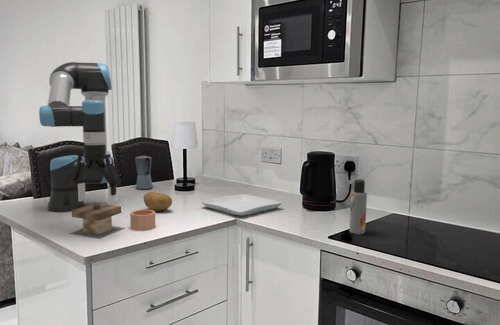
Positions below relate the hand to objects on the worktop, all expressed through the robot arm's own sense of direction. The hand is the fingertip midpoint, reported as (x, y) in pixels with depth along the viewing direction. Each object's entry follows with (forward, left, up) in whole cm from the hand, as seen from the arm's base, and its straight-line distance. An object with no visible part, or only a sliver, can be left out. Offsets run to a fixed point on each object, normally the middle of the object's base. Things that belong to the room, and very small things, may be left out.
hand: (96, 202), depth 154 cm
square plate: (+34, +55, -12) cm, 66 cm away
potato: (+2, +36, -11) cm, 38 cm away
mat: (0, 0, -11) cm, 11 cm away
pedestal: (0, 0, -11) cm, 11 cm away
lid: (0, 0, -5) cm, 5 cm away
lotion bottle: (+88, +39, -11) cm, 97 cm away
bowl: (+12, +11, -11) cm, 20 cm away
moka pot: (-33, +75, -11) cm, 83 cm away
